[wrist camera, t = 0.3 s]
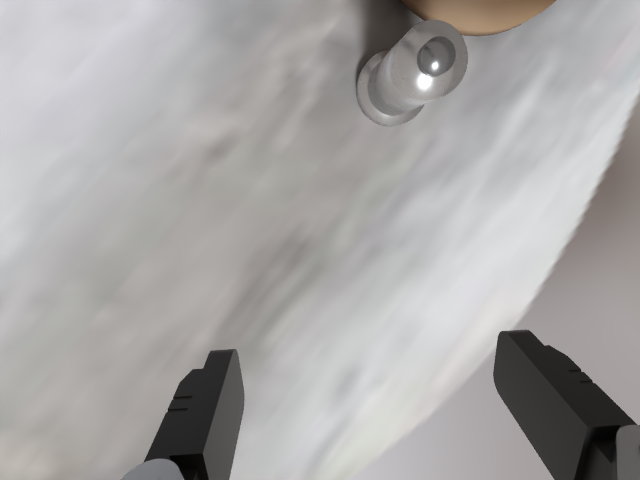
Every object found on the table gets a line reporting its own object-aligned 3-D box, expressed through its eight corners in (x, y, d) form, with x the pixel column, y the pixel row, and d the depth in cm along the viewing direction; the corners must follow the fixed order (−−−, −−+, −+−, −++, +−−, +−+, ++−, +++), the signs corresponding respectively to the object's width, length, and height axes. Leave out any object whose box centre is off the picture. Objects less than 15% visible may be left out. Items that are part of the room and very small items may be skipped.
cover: (346, 65, 35) (378, 18, 24) (413, 42, 36) (472, -14, 25) (368, 135, 37) (406, 120, 26) (431, 113, 37) (495, 89, 26)
